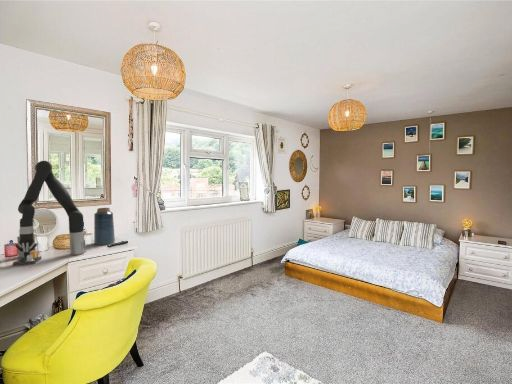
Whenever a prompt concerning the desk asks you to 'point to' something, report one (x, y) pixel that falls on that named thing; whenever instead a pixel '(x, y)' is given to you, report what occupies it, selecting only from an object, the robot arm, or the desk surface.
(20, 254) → the skincare box
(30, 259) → the panel
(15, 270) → the desk surface
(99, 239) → the blue lidded jar
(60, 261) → the desk surface
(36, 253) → the orange rectangular block
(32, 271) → the desk surface
